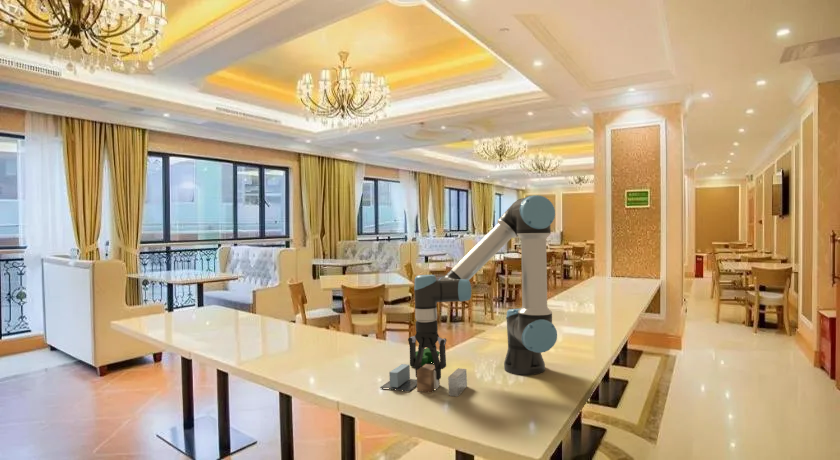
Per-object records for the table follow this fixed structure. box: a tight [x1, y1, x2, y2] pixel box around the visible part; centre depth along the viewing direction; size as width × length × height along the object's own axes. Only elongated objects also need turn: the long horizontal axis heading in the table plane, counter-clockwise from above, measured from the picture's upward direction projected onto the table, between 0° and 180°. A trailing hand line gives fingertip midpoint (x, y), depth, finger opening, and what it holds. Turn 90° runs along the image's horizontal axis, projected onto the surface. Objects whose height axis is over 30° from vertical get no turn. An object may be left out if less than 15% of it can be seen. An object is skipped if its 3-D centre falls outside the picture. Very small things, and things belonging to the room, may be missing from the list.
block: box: [416, 363, 441, 393], centre depth 155 cm, size 5×8×7 cm, turn 156°
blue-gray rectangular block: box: [388, 363, 411, 388], centre depth 159 cm, size 3×10×5 cm, turn 157°
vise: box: [379, 367, 468, 397], centre depth 155 cm, size 28×11×6 cm, turn 67°
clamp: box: [416, 347, 440, 367], centre depth 183 cm, size 12×6×9 cm, turn 132°
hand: (428, 387), depth 155 cm, fingers open, 5 cm apart
